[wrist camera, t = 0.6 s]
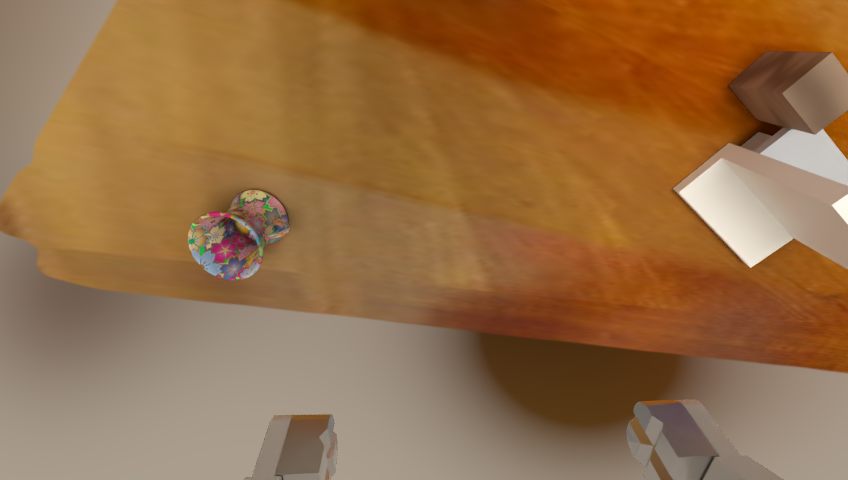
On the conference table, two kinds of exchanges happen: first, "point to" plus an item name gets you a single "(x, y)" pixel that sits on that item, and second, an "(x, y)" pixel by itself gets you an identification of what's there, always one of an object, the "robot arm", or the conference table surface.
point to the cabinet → (794, 89)
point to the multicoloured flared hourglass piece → (238, 235)
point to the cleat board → (774, 195)
